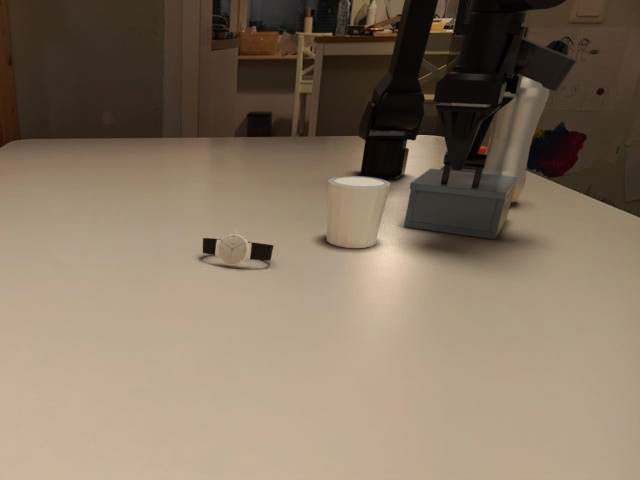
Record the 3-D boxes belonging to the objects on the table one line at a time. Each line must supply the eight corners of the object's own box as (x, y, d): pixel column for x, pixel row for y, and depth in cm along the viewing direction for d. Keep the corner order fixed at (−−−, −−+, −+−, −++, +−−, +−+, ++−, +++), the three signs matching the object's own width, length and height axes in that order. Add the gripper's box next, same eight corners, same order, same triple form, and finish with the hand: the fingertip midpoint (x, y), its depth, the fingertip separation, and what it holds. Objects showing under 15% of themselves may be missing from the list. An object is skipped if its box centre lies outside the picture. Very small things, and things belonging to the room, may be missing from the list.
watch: (195, 263, 66) (196, 230, 64) (209, 251, 70) (210, 219, 68) (266, 272, 63) (269, 238, 62) (276, 258, 67) (279, 226, 66)
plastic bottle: (508, 197, 92) (547, 48, 83) (527, 208, 87) (571, 49, 77) (464, 196, 93) (497, 49, 84) (480, 207, 87) (517, 49, 78)
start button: (482, 160, 103) (485, 149, 102) (459, 158, 105) (462, 147, 104) (486, 156, 106) (488, 146, 105) (463, 155, 108) (466, 144, 107)
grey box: (494, 239, 73) (505, 199, 71) (403, 226, 79) (410, 188, 76) (506, 220, 81) (515, 183, 79) (422, 209, 86) (429, 174, 84)
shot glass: (384, 236, 75) (394, 177, 71) (376, 252, 69) (387, 189, 66) (327, 230, 77) (334, 173, 74) (315, 245, 72) (322, 184, 68)
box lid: (504, 199, 71) (514, 159, 69) (409, 189, 76) (416, 151, 74) (516, 183, 79) (525, 146, 77) (429, 174, 84) (436, 139, 82)
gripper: (581, 8, 55) (532, 185, 62) (588, 13, 69) (548, 158, 76) (449, 11, 60) (418, 174, 68) (480, 15, 74) (452, 150, 81)
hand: (464, 163), depth 73 cm, fingers open, 9 cm apart
